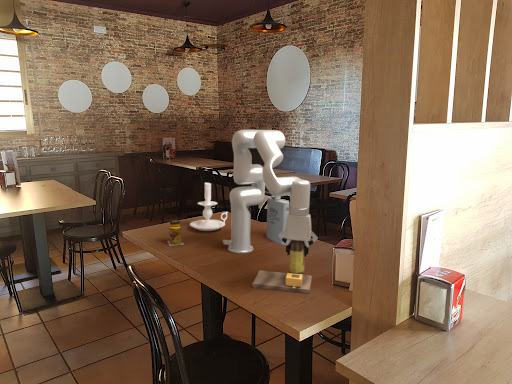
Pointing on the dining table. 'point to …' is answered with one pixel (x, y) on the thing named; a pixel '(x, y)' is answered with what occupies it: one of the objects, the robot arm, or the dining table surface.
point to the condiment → (175, 233)
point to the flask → (276, 218)
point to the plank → (280, 282)
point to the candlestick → (208, 214)
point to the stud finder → (294, 279)
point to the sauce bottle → (296, 257)
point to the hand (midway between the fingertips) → (297, 254)
